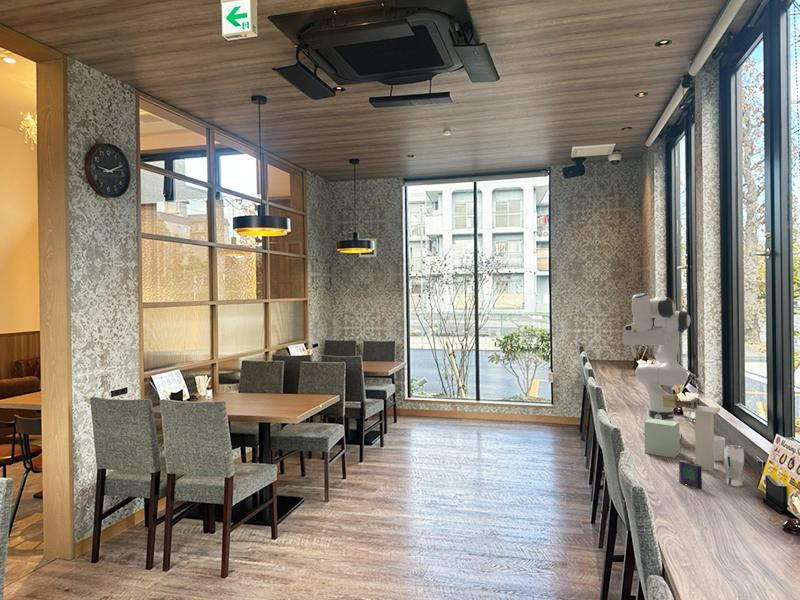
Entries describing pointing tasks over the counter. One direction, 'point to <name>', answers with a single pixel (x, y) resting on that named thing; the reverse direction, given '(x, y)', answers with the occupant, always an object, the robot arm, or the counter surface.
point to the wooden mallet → (675, 401)
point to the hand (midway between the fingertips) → (645, 354)
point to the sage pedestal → (662, 437)
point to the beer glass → (733, 464)
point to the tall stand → (704, 434)
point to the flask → (690, 473)
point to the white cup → (718, 448)
